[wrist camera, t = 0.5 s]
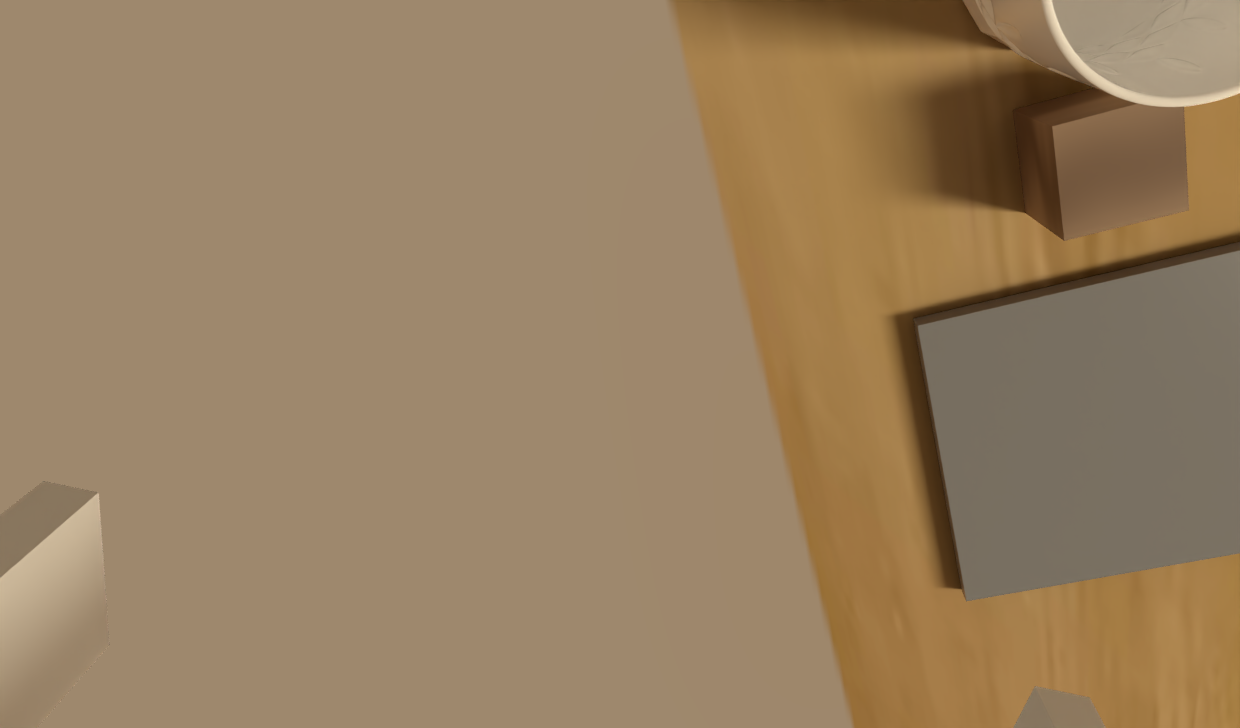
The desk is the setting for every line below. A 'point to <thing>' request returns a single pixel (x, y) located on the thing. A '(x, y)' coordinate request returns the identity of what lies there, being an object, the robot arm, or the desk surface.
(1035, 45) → the white cup
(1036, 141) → the walnut block
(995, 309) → the coaster
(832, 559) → the desk surface
